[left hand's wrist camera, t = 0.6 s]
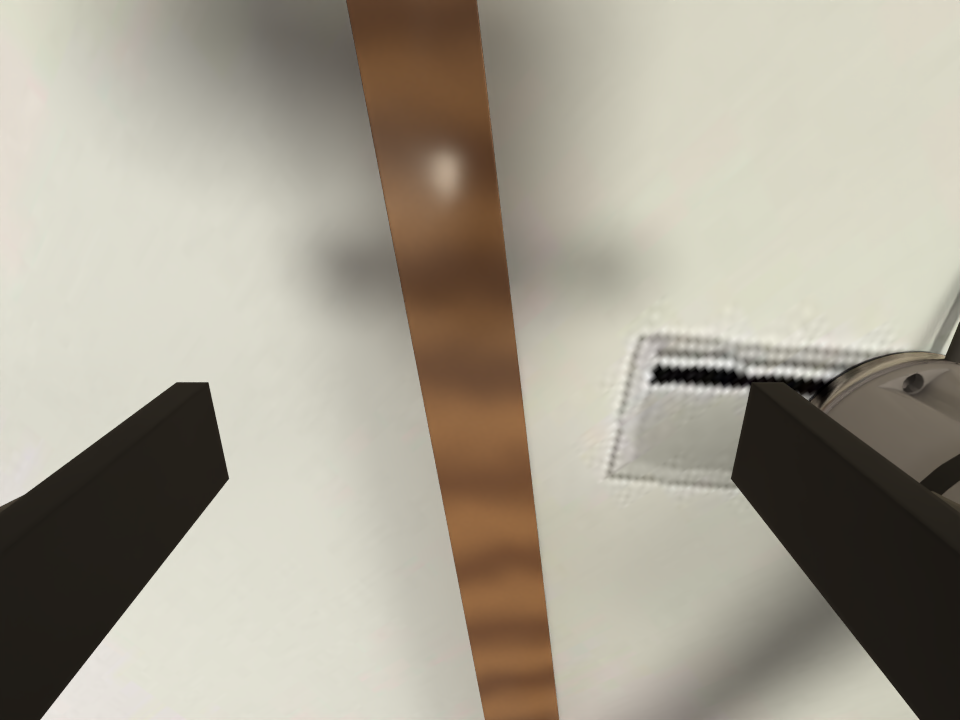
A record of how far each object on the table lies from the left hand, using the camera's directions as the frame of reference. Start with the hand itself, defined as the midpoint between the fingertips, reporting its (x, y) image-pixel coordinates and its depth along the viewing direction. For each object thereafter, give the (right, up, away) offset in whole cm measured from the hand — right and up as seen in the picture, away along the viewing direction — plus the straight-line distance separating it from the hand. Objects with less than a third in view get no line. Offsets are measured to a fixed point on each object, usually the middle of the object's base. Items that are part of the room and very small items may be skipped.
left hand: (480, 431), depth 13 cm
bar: (+2, -14, +30) cm, 33 cm away
